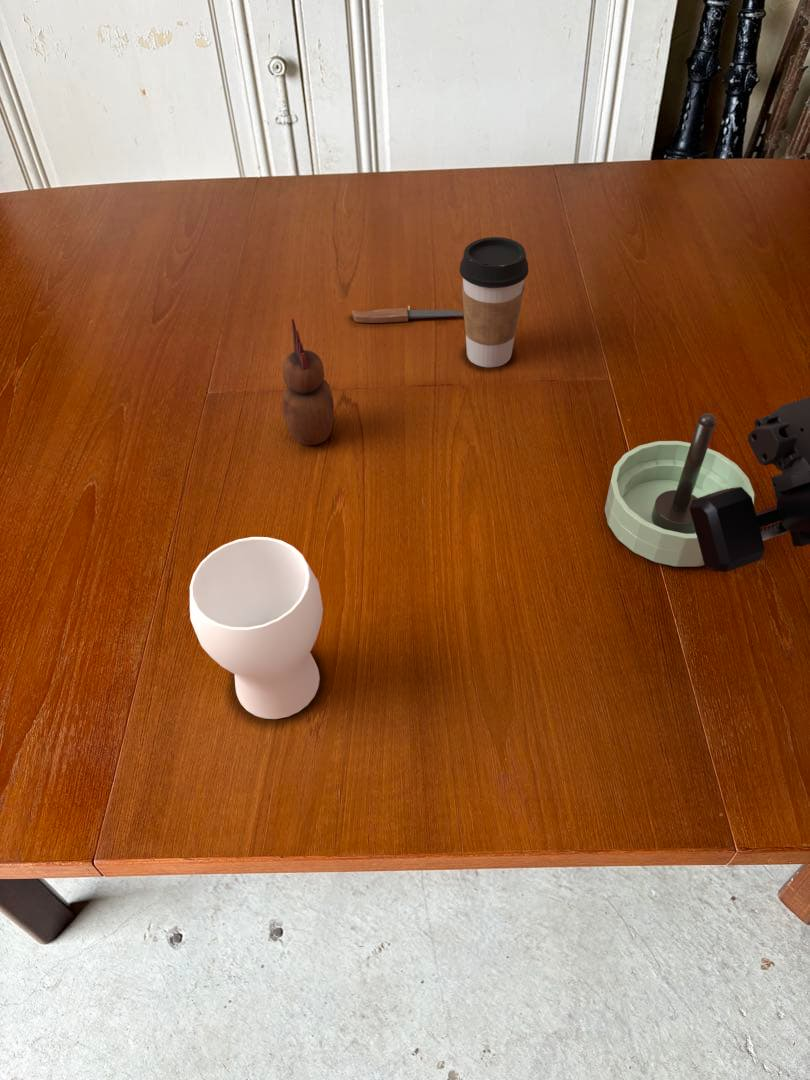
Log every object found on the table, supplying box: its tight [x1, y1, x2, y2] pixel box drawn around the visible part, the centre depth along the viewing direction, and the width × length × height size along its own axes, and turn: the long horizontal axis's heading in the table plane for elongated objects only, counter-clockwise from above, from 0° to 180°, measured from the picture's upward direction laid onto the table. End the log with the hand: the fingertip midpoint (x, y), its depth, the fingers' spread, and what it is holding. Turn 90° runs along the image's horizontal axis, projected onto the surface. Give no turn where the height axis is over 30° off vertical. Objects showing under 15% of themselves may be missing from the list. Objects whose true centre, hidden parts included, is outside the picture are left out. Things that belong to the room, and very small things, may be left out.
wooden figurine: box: [282, 318, 335, 446], centre depth 93 cm, size 7×6×15 cm
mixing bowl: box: [604, 440, 755, 568], centre depth 86 cm, size 14×14×5 cm
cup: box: [189, 536, 324, 720], centre depth 70 cm, size 11×11×15 cm
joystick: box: [652, 412, 717, 534], centre depth 81 cm, size 5×5×14 cm
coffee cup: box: [459, 236, 529, 368], centre depth 103 cm, size 8×8×15 cm
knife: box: [351, 305, 464, 324], centre depth 114 cm, size 17×1×3 cm
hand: (736, 507), depth 76 cm, fingers open, 9 cm apart
